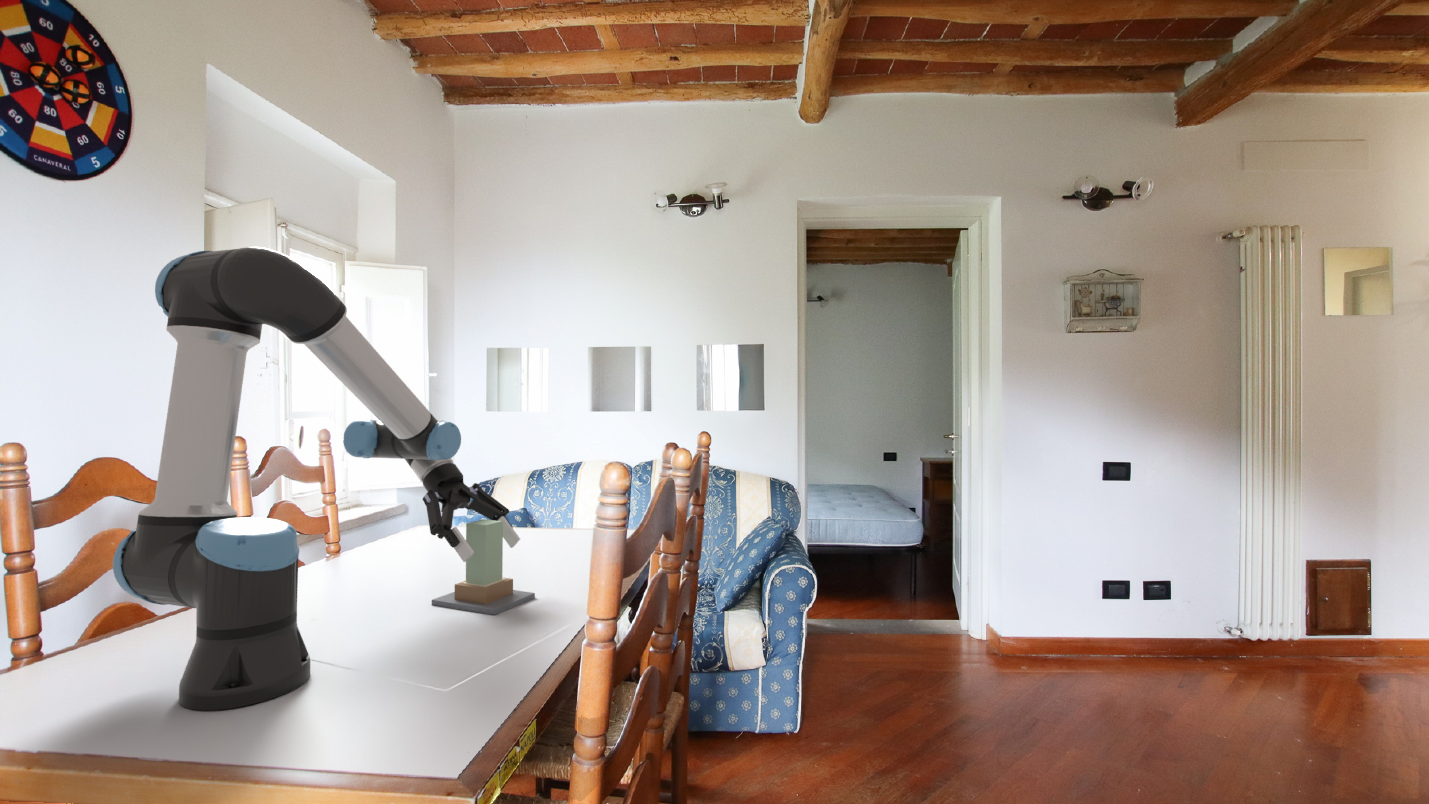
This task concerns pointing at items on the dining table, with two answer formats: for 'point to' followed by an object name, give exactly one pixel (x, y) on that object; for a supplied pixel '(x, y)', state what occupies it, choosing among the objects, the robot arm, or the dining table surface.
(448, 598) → the build base
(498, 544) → the sage block
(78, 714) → the dining table surface
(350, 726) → the dining table surface
